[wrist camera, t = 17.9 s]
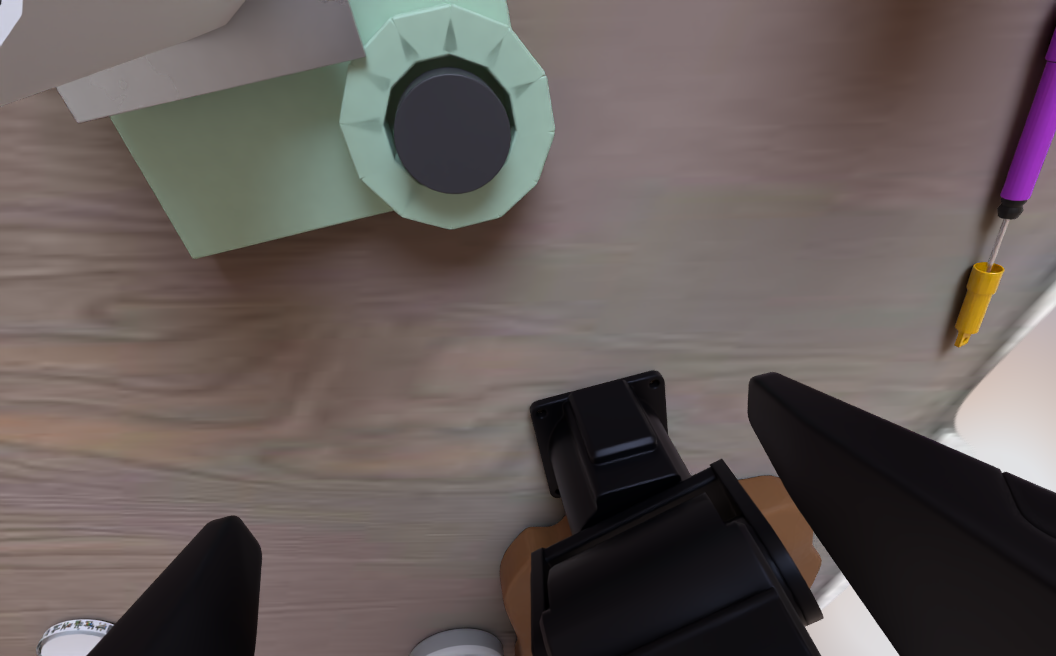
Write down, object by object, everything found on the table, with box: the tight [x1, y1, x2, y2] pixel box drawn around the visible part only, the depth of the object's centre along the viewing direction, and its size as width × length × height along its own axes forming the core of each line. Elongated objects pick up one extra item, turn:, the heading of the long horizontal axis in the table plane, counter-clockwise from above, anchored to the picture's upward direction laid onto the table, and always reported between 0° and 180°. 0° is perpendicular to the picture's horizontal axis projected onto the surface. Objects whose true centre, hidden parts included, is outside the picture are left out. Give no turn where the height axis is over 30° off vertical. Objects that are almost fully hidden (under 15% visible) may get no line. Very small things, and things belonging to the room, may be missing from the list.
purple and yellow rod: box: [954, 28, 1056, 347], centre depth 24 cm, size 3×1×16 cm
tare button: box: [394, 67, 511, 194], centre depth 16 cm, size 3×3×2 cm
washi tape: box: [36, 619, 114, 656], centre depth 29 cm, size 4×4×1 cm
